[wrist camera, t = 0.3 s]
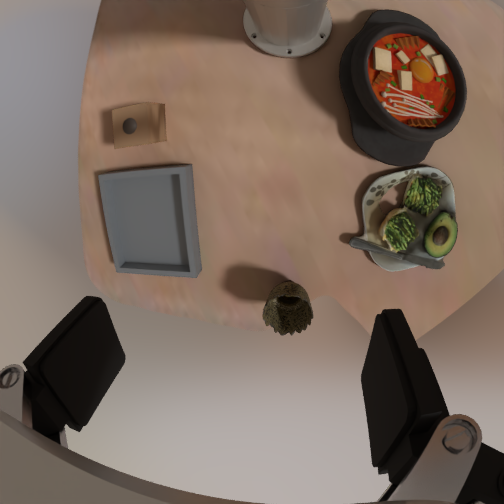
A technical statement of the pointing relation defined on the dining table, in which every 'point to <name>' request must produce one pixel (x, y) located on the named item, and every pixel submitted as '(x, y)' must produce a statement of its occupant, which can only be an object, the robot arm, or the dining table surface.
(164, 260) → the tray
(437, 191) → the salad plate
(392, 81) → the casserole
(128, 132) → the walnut block
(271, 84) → the dining table surface
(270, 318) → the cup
